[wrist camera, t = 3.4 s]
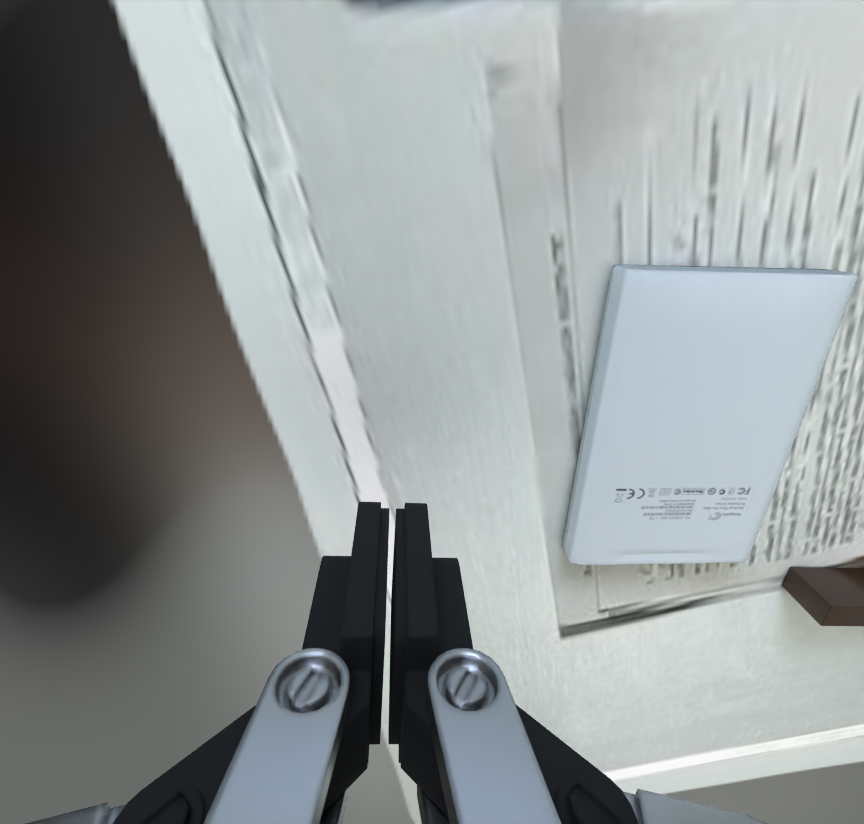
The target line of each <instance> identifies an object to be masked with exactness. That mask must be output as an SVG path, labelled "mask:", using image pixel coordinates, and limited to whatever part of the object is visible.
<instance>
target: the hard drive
mask: <svg viewBox="0 0 864 824" xmlns="http://www.w3.org/2000/svg"><path fill="white" fill-rule="evenodd" d="M856 281H857V274H853V273H846V272H841V271H833V270H825V269H786V268H743V267H702V266H657V265H613V266H612V270H611V276H610V282H609V287H608V293H607V299H606V304H605V309H604V314H603V322H602V327H601V331H600V337H599V344H598V349H597V355H596V360H595V366H594V371H593V376H592V382H591V388H590V393H589V399H588V404H587V410H586V416H585V422H584V428H583V432H582V438H581V444H580V450H579V456H578V460H577V466H576V472H575V477H574V483H573V490H572V495H571V500H570V506H569V511H568V517H567V522H566V528H565V531H564V538H563V543H562V547H563V549H564V551H565V553H566V556H567V558H568V560H569V562H570V563H573V564H577V565H618V564H687V563H738V562H743V561H745V560H748V557H749V555H750V552H751V550H752V547H753V545H754V542H755V539H756V536H757V534H758V531H759V528H760V526H761V524H762V521H763V519H764V516H765V514H766V511H767V509H768V506H769V504H770V501H771V499H772V496H773V494H774V491H775V489H776V486H777V483H778V481H779V478H780V476H781V473H782V471H783V468H784V465H785V463H786V460H787V458H788V455H789V452H790V450H791V448H792V445H793V443H794V440H795V437H796V435H797V432H798V430H799V427H800V425H801V422H802V420H803V417H804V414H805V412H806V409H807V407H808V404H809V402H810V399H811V397H812V394H813V392H814V389H815V387H816V384H817V382H818V379H819V377H820V374H821V372H822V369H823V366H824V363H825V361H826V358H827V355H828V353H829V350H830V348H831V345H832V343H833V340H834V337H835V335H836V332H837V330H838V327H839V324H840V322H841V319H842V317H843V314H844V311H845V309H846V306H847V303H848V301H849V298H850V295H851V293H852V290H853V288H854V285H855V283H856Z"/></svg>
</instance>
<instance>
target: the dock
mask: <svg viewBox="0 0 864 824" xmlns="http://www.w3.org/2000/svg"><path fill="white" fill-rule="evenodd" d="M782 586H783V587H784V588H785V589H786V590H787V591H788V592H789V593H790V594H791V596H792V597H793V598H794V599H795V600H796V601H797V602H798V603H799V604H800V605H801V606H802V607H803V608H804V609H805V610H806V611H807V612H808V613H809V614H810V615H811V616H812V617H813V618H814V619H815V620H816V621H817V622H818V623H819V624H820V625H821V626H864V569H852V568H802V567H791V568H790V569H789V572H788V574H787V576H786V578H785V580H784V582H783V584H782Z"/></svg>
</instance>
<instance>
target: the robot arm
mask: <svg viewBox="0 0 864 824" xmlns="http://www.w3.org/2000/svg"><path fill="white" fill-rule="evenodd" d="M388 532H389V508H381V502H359V504H358V511H357V519H356V526H355V533H354V541H353V548H352V555H351V556H323V557H322V561H321V565H320V570H319V574H318V578H317V583H316V588H315V592H314V597H313V602H312V606H311V611H310V615H309V620H308V625H307V629H306V634H305V638H304V643H303V647H302V650H300V651H296V652H295V653H293V654H291V655H289V656H287V657H285V658H284V659H283V660H282V661H281V662H280V663H279V664H278V665H276V666H275V668H274V670H273V671H272V673H271V674H270V676H269V678H268V680H267V682H266V685H265V687H264V689H263V691H262V693H261V696H260V698H259V700H258V702H257V705H256V706H254V707H253V708H251V709H250V710H249V711H247V712H246V713H245V714H243V715H242V716H241V717H239V718H238V719H237V720H235V721H234V722H233V723H231V724H230V725H229V726H227V727H226V728H225V729H223V730H222V731H221V732H219V733H218V734H216V735H215V736H214V737H213V738H211V739H210V740H208V741H207V742H206V743H204V744H203V745H202V746H200V747H199V748H198V749H196V750H195V751H194V752H192V753H191V754H190V755H188V756H187V757H186V758H184V759H183V760H181V761H180V762H179V763H178V764H176V765H175V766H174V767H172V768H171V769H169V770H168V771H167V772H166V773H164V774H163V775H161V776H160V777H159V778H157V779H156V780H155V781H153V782H152V783H151V784H149V785H148V786H147V787H145V788H144V789H142V790H141V791H140V792H139V793H138V794H137V795H136V796H135V797H134V798H133V799H131V800H130V801H129V802H128V803H127V804H126V805H122V806H118V807H115V808H111V809H109V805H108V803H103V804H100V805H96V806H92V807H88V808H84V809H80V810H76V811H73V812H69V813H65V814H61V815H58V816H53V817H50V818H46V819H42V820H39V821H34V822H31V823H27V824H342V822H343V817H344V812H345V808H346V803H347V799H348V787H349V786H350V785H351V784H352V783H353V782H354V781H355V780H356V779H357V778H358V777H359V776H360V775H361V774H362V773H363V772H364V771H365V770H366V769H367V763H368V755H369V744H380V730H381V710H382V689H383V668H384V647H385V622H386V592H387V562H388ZM389 744H399V763H401V768H402V769H403V770H404V771H405V772H406V773H407V774H408V776H409V777H410V778H411V779H412V780H413V781H414V782H415V783H416V784H417V797H418V803H419V809H420V816H421V822H422V824H767V823H765V822H764V821H762V820H759V819H757V818H754V817H752V816H749V815H747V814H742V813H738V812H734V811H730V810H725V809H721V808H717V807H713V806H708V805H704V804H700V803H695V802H691V801H687V800H683V799H679V798H674V797H670V796H666V795H662V794H658V793H653V792H649V791H645V790H641V789H637V792H636V794H635V795H634V794H630V793H626V792H623V791H622V790H621V789H620V788H619V787H618V786H617V785H616V784H615V783H614V782H613V781H612V780H611V779H610V778H608V777H607V776H606V775H605V774H603V773H602V772H601V771H599V770H598V769H597V768H596V767H594V766H593V765H592V764H591V763H589V762H588V761H587V760H585V759H584V758H583V757H582V756H580V755H579V754H578V753H577V752H575V751H574V750H573V749H571V748H570V747H569V746H568V745H566V744H565V743H564V742H563V741H561V740H560V739H559V738H558V737H556V736H555V735H554V734H552V733H551V732H550V731H549V730H547V729H546V728H545V727H544V726H542V725H541V724H540V723H538V722H537V721H536V720H535V719H533V718H532V717H531V716H530V715H528V714H527V713H526V712H525V711H523V710H522V709H521V708H519V707H518V706H517V705H516V704H515V702H514V700H513V697H512V695H511V692H510V689H509V687H508V684H507V682H506V679H505V676H504V674H503V673H502V671H501V669H500V667H499V666H498V665H497V664H496V663H495V662H494V661H493V660H492V659H491V658H490V657H489V656H487V655H485V654H483V653H482V652H480V651H476V650H473V646H472V640H471V633H470V627H469V621H468V615H467V609H466V603H465V597H464V591H463V585H462V579H461V573H460V567H459V562H458V559H457V558H432V553H431V542H430V531H429V520H428V509H427V504H425V503H405V509H396V522H395V541H394V560H393V579H392V599H391V644H390V693H389Z"/></svg>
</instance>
